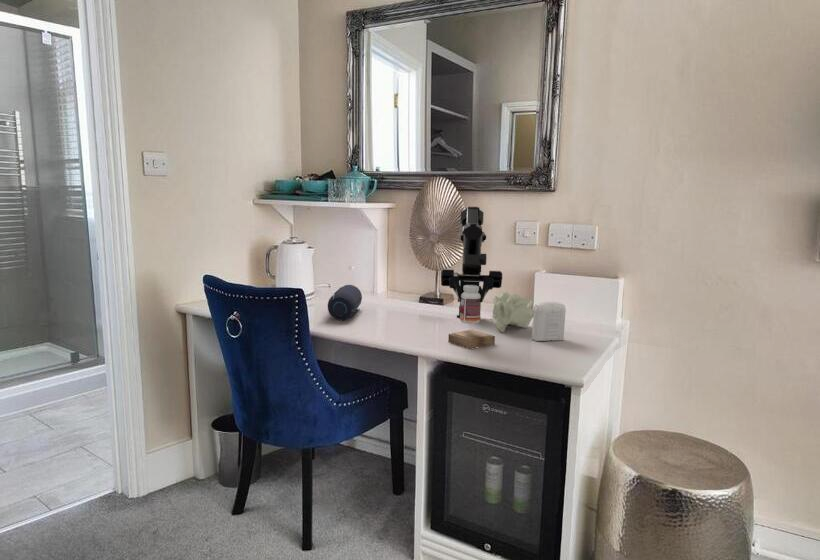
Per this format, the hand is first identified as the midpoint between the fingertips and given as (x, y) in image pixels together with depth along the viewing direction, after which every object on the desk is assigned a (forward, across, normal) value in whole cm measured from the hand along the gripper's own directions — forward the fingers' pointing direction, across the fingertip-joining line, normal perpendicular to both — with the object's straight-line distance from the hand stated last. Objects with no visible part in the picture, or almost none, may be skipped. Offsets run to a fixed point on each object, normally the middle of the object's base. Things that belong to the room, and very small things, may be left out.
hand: (470, 301), depth 170 cm
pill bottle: (+4, 0, +6) cm, 7 cm away
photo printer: (+3, +25, +16) cm, 30 cm away
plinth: (+9, +1, +10) cm, 13 cm away
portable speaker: (-14, -46, +34) cm, 58 cm away
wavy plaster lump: (-7, +14, +26) cm, 31 cm away
